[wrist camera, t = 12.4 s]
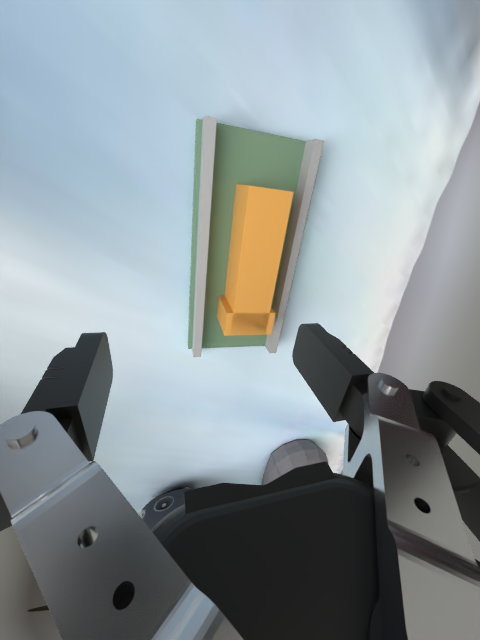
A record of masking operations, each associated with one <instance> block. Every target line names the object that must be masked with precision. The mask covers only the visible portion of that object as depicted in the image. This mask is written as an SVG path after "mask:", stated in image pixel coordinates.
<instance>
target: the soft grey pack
mask: <svg viewBox="0 0 480 640" xmlns="http://www.w3.org/2000/svg"><path fill="white" fill-rule="evenodd" d="M325 461H327V463H328V460H327V457H326V454H325V453H324V452H323V451H322V450H321V449H320V448H319V447H318V445H317V444H315V443H313V442H311V441H310V440H295V441H293V442H290V443H287V444H284V445H283V446H281V447H280V448H278V449H277V450H276V451H274V452H273V453H272V454H271V456H270V459H269V461H268V464H267V466H266V469H265V473H264V476H263V481H262V485H266V484H268V483H270V482H271V481H273V480H275V479H277V478H278V477H280V476H282V475H284V474H285V473H287V472H289V471H291V470H292V469H294V468H296V467H301V466H306V465H311V464H315V463H320V462H325Z"/></svg>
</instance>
